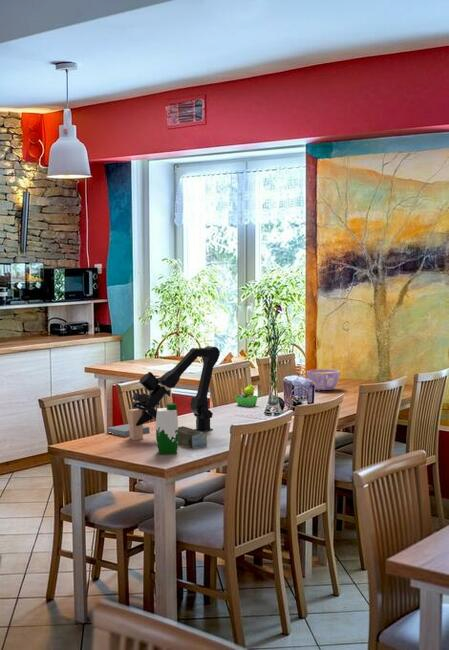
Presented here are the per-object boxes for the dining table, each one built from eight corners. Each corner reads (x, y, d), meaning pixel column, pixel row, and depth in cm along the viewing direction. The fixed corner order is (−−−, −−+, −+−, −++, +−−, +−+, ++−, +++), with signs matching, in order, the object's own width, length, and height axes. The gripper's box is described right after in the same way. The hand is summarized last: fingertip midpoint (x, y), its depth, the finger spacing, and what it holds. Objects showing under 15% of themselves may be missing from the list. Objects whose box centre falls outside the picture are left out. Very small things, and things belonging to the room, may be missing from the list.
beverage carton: (191, 449, 371) (191, 433, 370) (168, 442, 386) (167, 427, 386) (207, 446, 375) (207, 431, 375) (183, 440, 391) (183, 425, 390)
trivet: (149, 432, 408) (149, 427, 408) (125, 436, 399) (124, 431, 399) (131, 428, 419) (131, 423, 418) (106, 433, 409) (106, 427, 409)
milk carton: (178, 454, 360) (177, 405, 359) (156, 455, 359) (155, 406, 358) (178, 449, 369) (177, 402, 368) (156, 450, 368) (155, 403, 367)
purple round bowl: (335, 393, 518) (335, 373, 518) (302, 392, 526) (302, 372, 525) (343, 388, 537) (343, 369, 536) (311, 387, 544) (311, 368, 543)
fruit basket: (234, 405, 482) (233, 384, 481) (245, 403, 488) (245, 383, 487) (248, 407, 474) (248, 386, 473) (260, 405, 480) (260, 384, 479)
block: (138, 437, 397) (138, 408, 397) (142, 439, 394) (142, 410, 393) (129, 438, 395) (128, 409, 394) (133, 440, 391) (132, 411, 390)
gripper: (134, 383, 403) (112, 410, 398) (151, 388, 387) (129, 415, 382) (151, 399, 407) (129, 425, 403) (168, 404, 391) (146, 431, 386)
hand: (133, 424), depth 393 cm, fingers open, 7 cm apart
